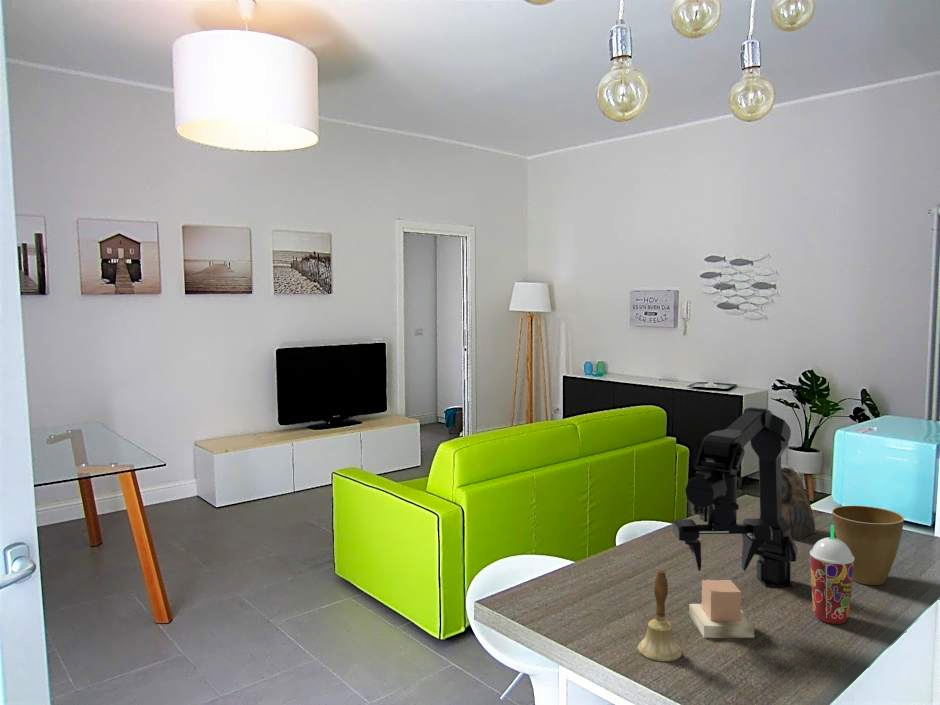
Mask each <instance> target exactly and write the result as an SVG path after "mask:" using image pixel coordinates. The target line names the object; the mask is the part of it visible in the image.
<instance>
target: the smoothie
mask: <svg viewBox="0 0 940 705" xmlns="http://www.w3.org/2000/svg"><path fill="white" fill-rule="evenodd" d="M854 559H855V557H854V556H853V555H852V553H851V550H850V549H849V547H848V546H847V545H846V544H845V543H844V542H843V541H841V540H839V539H837V538H836V537H835V528H834V524H831V525H830V537H823V538H821V539H819V540H817V541H816V542H815V543H814V545H813V547H812V549H810V550H809V561H810V580H811V581H810V584H811V597H812V598H811V599H812V600H811V601H812V611H813V612H814V614H815V617H816V618H817V619H818V620H820V621H822V622H824V623H827V624H832V625H833V624H834V625H841V624H844V623H845V622H847V618H849V617H850V611H851V610H850V609H851V608H850V607H851V599H852V598H851V597H852V587H853V586H852V585H853V580H852V578H853V567H854Z"/></svg>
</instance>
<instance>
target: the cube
mask: <svg viewBox="0 0 940 705" xmlns="http://www.w3.org/2000/svg"><path fill="white" fill-rule="evenodd" d="M701 604H702V609H703V610H704V612H705V613H706V615H707V616H708V618H709V619H710V620H711V621H741V610H742V607H741V606H742V591H741V590H740V589H739V588H738V587H737V586H736V585H735V583H734V582H733V581H732V580H731V579H708V580H707V579H703V580H701Z"/></svg>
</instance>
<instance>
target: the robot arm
mask: <svg viewBox="0 0 940 705" xmlns="http://www.w3.org/2000/svg"><path fill="white" fill-rule="evenodd" d="M791 434H792V432H791V426H789V424H788V423H787V422H786V420H785V419H783V418H781V417H779V416H777V415H776V414H774V413H772V411H771V410H768V409H767V408H762V407H761V408H760V407H751V406H750V407H747V408H745V409H744V411H743V413H742V414H741V415H740V416H739V417H738V418H736V419H735V420H734V421H733V422H732V423H731V424H730V425H729V426H727V428H724V429H721V430H715V431H711V432H710V433H708V434H707V435H706V436H705V437H704V438H703V439H702V441H701V443H700V447H699V449H698V452H697V456H696V459H695V463H694V466H693V467H694V469H695V470H697V471H696V472H695V474H694V476H695V477H694V478H692V479H690V480H689V481H688V483H687V484H686V487H685V495H686V498H687V499H688V501H689V502H690V514H691V516H699V520H702V522H704V523H706V524H697V523H696V522H695V521H694V520H693V519H691V518H690V519H686V518H684V519H682V518H680V519H674V521H673V523H672V533H673V534H674V535H675V537H676V538H677V539H678V540H679V541H682V542H683V543H684V544H685V545H686V546H687V545H688V547H689V550H690V552H691V555H692V557H693V560H694V563H695V567H696V569H697V571H698V572H701V569H702V546H701V544H702V543H701V541H700V540H699V538H700V535H723V534H724V535H729V534H730V535H734V534H736V535H740V534H741V538H742V549H741V550H742V552H741V569H742V570H743V571H746V570H747V569H748V566H749V565H750V563H751V562H752V559H753V557H755V556H758V560H756V573H755V577H756V578H757V579H758V580H759V581H760V582H761V583H762V584H763V585H764V586H765V587H794V583H793V581H791V567H792V566H791V564H792V562H793V563H794V562H797V556H798V547H797V545H796V544H795V542H794V541H795V540H793V539H792V537H791V534H790V527H789V525H788V524H787V522H786V521H785V519H784V518H783V516H782V484H781V463H782V456H783V454H784V453H785V451H786V450H787V448H788V447H789V441H790V439H791ZM748 443H750V447H751V448H752V450H753V451H754V453H755V454H756V456H757V457H758V479H759V481H758V482H759V486H758V487H759V515H760V516H759V517H758V518H744V519H743V520H742V523H737V518H738V517H737V516H738V515H737V511H738V510H739V507H740V506H739V503H737V501H738V500H737V499H738V498H737V497H738V495H737V494H738V492H737V489H738V487H737V486H738V485H737V484H738V474H737V472H740V466H741V464H742V461H743V459H744V456H745V454H746V453H745V452H746V451H745V446H746V445H747V444H748Z"/></svg>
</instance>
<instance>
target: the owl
mask: <svg viewBox="0 0 940 705" xmlns="http://www.w3.org/2000/svg"><path fill="white" fill-rule="evenodd" d="M781 484H782V516H783V518H784V519H785V521H786V522H787V524H788V525H789V527H790V534H791V537H792V539H793V541H799V540H801V539H805V537H808V536H811V535H813V534H815V533H816V530H815V529H816V523H815V518H814V514H813V509H812V506H811V504H810V500H809V498H808V495H807V492H806V489H805V486H804V484H803V480H802V478H801V477H800V476H799V475H798V473H797V472H796V471H795V469H793V467H792V466H789V465H788V464H786V463H783V462H781Z"/></svg>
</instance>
